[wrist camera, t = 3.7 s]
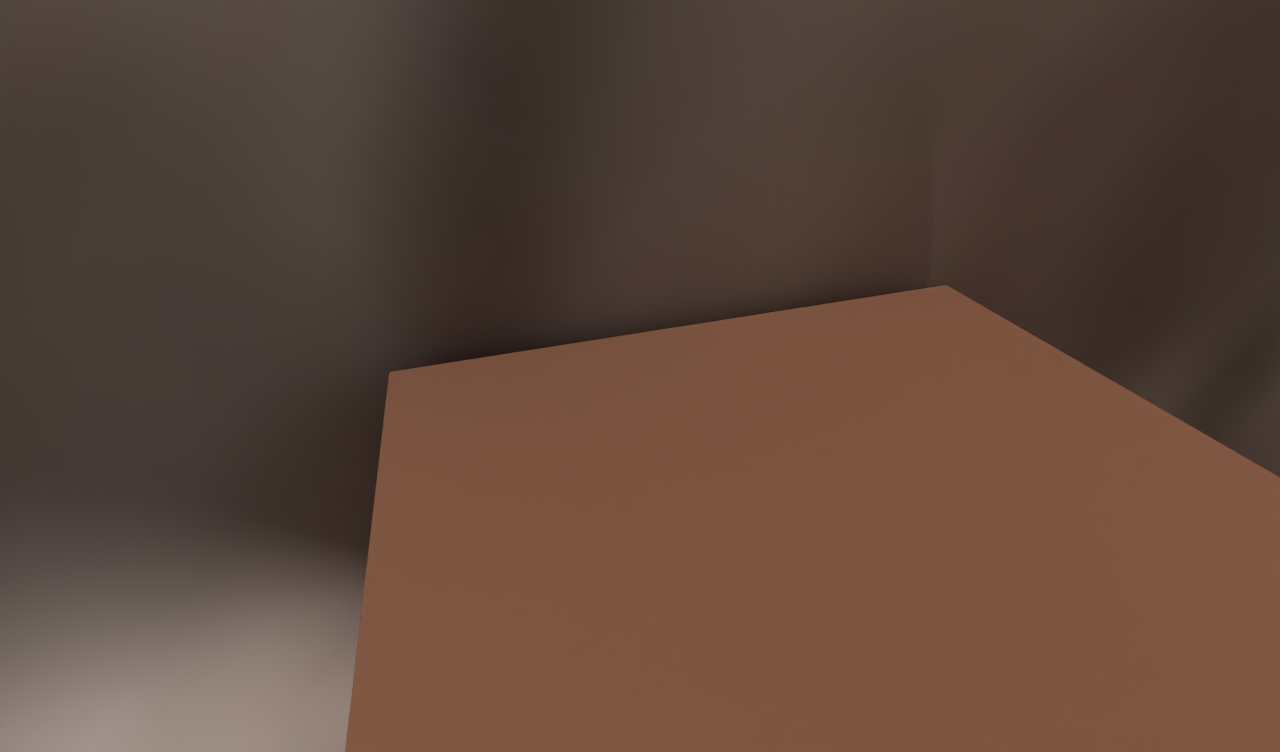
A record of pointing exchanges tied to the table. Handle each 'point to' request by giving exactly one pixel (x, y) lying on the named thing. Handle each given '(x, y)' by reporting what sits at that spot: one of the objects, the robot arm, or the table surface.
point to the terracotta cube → (812, 549)
